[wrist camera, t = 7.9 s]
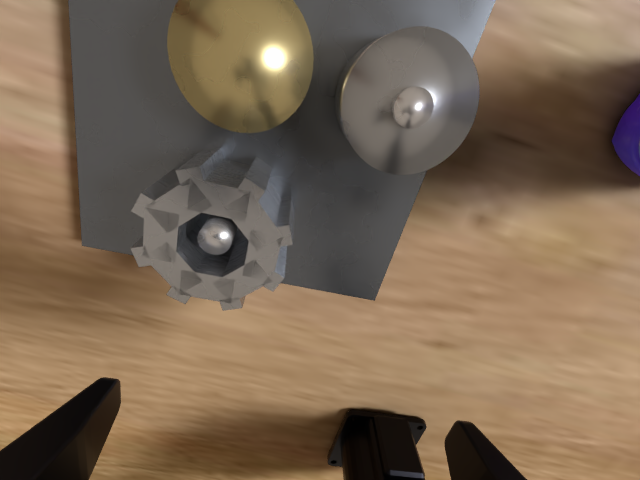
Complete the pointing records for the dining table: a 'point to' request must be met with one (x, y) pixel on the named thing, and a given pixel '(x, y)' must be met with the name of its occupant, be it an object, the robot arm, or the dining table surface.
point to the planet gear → (184, 224)
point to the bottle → (629, 137)
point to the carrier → (275, 115)
